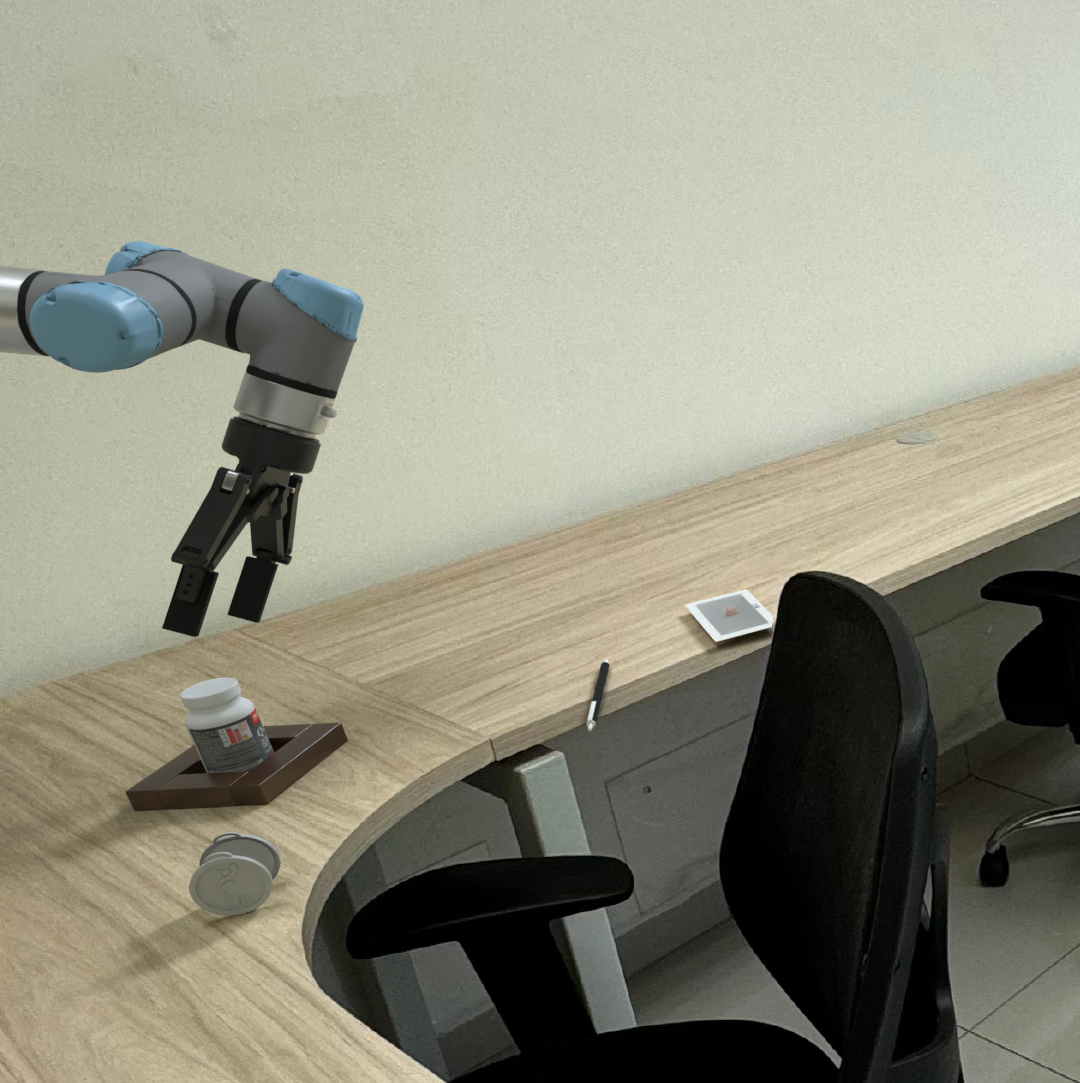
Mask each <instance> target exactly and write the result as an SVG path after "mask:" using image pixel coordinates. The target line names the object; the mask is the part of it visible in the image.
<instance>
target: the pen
mask: <svg viewBox="0 0 1080 1083" xmlns="http://www.w3.org/2000/svg"><path fill="white" fill-rule="evenodd" d="M609 669H610V663H609V660H608V659H607V658H606V659H604V661H602V663H601V664H600V668H599V671H598V675H597V680H596V683H595V687H594V692H593V695H592V700H591V703H590V707H589V711H588V715H587V720H586V723H585V725H586V727H587V731H588V732H589V733H590V732H592V731H593V729H594V728H596V726H597V721H598V718H599V713H600V709H601V704H602V699H603V696H604V690H605V687H606V682H607V678H608V674H609V671H610V670H609Z"/></svg>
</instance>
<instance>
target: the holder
mask: <svg viewBox="0 0 1080 1083" xmlns="http://www.w3.org/2000/svg"><path fill="white" fill-rule="evenodd" d="M263 727H264V730H265V732H266V735H267V737H268V739H269V741H270V744H271V746H272V748H273V751H274V753H273V754H272V755H271V756H269V757H268V758H267V759H265V760H264V761H263V762H261V763H260V764H259V765H257V766H256V767H255V768H253V769H252V770H251V771H244V772H223V773H207V772H206V770H205V768H204V765H203V763H202V761H201V759H200V757H199V754H198V752H197V750H196V748H195V745H194V744H193V745H192V746H190V747H189V748H187V749H186V750H184V751H183V752H181V753H180V754H179V755H177V756H175V757H174V758H173V759H171V760H169V761H167V763H165V764H163V765H162V766H161V767H159V768H158V769H156V770H155V771H153V772H151V773H150V774H149V775H147V776H146V777H145V778H143V779H141V780H140V781H138V782H137V783H135V784H134V785H133V786H131V787H130V788H128V789H126V791H124V792H125V794H126V797H127V799H128V801H129V803H130V806H131V807H132V809H133V811H150V810H154V811H155V810H176V809H196V808H197V809H199V808H215V807H216V808H218V807H236V806H254V805H255V806H256V805H268V804H269V803H270V802H272V801H273V800H275V799H276V798H277V797H278V796H279V795H281V794H282V793H283V792H284V791H286V790H287V789H288V788H290V787H291V786H292V785H293V784H294V783H296V782H297V781H299V779H301V778H302V777H304V775H306V774H307V773H308V772H310V771H311V770H313V768H315V767H316V766H318V765H319V764H320V763H321V762H322V761H324V760H325V759H327V757H329V756H330V755H331V754H333V753H334V752H335V751H336V750H338V749H339V748H340V747H342V746H343V745H344V744H345V743H346V742H347V741H348V740H349V738H348V736H347V734H346V731H345V728H344V726H343V723H342V722H340V721H339V722H321V723H302V724H301V723H300V724H299V723H297V724H280V725H279V724H278V725H263ZM333 751H334V752H333Z"/></svg>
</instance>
